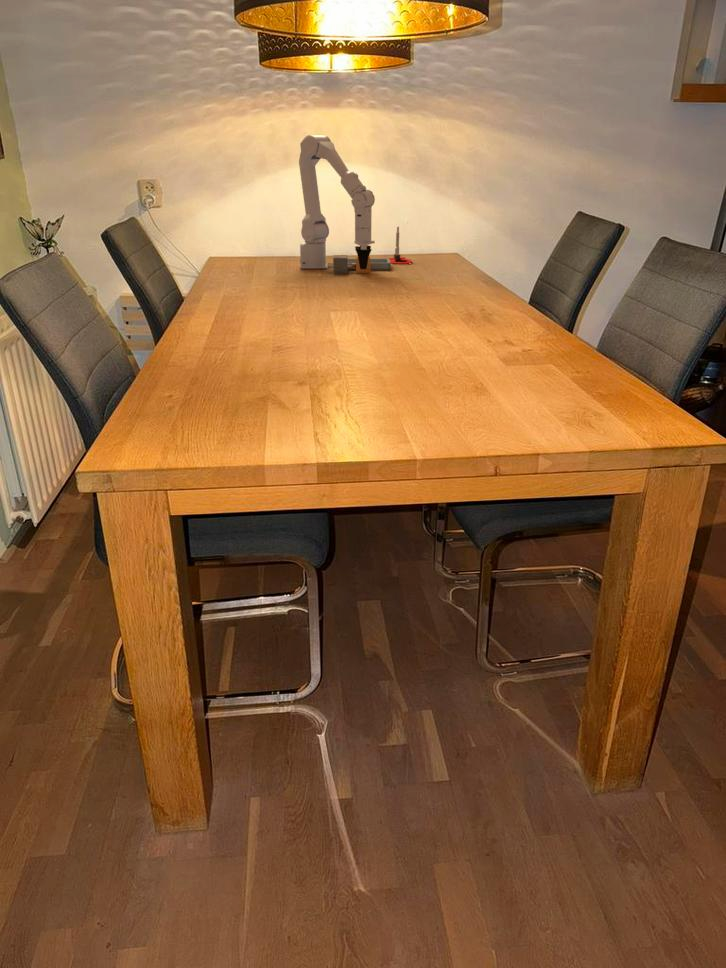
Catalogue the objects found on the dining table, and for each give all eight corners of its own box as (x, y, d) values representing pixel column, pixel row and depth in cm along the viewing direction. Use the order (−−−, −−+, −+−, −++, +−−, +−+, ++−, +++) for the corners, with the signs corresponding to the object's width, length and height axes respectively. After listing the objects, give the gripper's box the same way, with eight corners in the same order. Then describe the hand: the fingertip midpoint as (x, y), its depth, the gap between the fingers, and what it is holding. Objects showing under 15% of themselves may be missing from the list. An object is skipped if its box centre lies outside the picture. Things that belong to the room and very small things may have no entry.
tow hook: (415, 265, 280) (406, 260, 288) (417, 229, 274) (407, 226, 282) (395, 266, 278) (386, 261, 285) (396, 230, 272) (386, 226, 279)
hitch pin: (327, 273, 261) (327, 258, 259) (328, 271, 265) (327, 257, 262) (370, 273, 262) (370, 258, 260) (369, 271, 265) (370, 256, 263)
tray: (335, 270, 267) (334, 263, 266) (335, 265, 277) (335, 258, 275) (390, 270, 267) (390, 263, 266) (388, 265, 277) (388, 258, 276)
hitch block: (333, 273, 260) (333, 258, 257) (333, 270, 266) (333, 255, 264) (347, 273, 260) (347, 258, 258) (347, 270, 266) (347, 255, 264)
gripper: (375, 230, 250) (375, 271, 256) (373, 225, 263) (373, 264, 269) (354, 230, 250) (354, 271, 256) (354, 225, 263) (354, 264, 269)
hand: (363, 268), depth 263 cm, fingers closed on hitch pin, 4 cm apart
